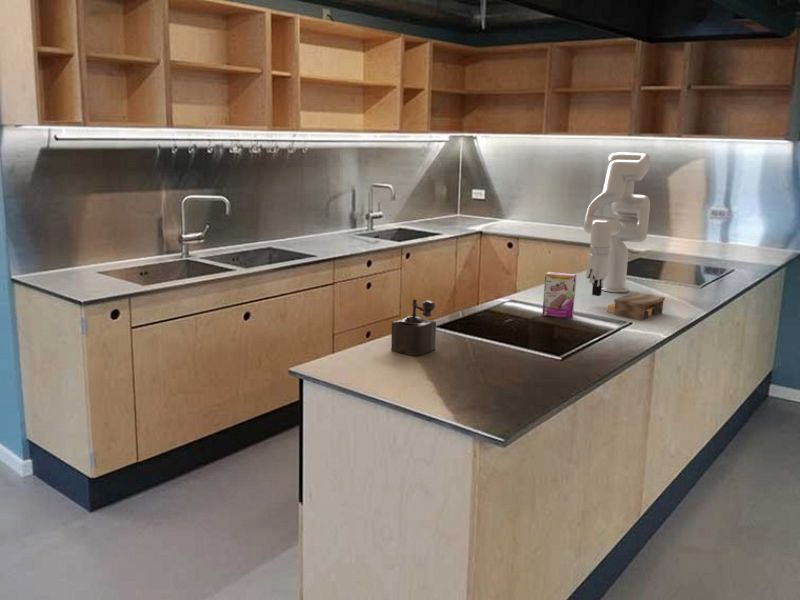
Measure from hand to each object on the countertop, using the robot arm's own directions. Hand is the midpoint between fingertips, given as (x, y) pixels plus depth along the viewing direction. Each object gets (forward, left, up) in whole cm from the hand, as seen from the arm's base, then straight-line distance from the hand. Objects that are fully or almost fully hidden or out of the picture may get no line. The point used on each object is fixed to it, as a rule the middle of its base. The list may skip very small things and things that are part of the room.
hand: (596, 295), depth 291 cm
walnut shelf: (+18, -1, -4) cm, 19 cm away
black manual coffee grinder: (-4, -100, -4) cm, 100 cm away
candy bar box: (0, -28, -4) cm, 28 cm away
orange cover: (+16, -1, -4) cm, 17 cm away
